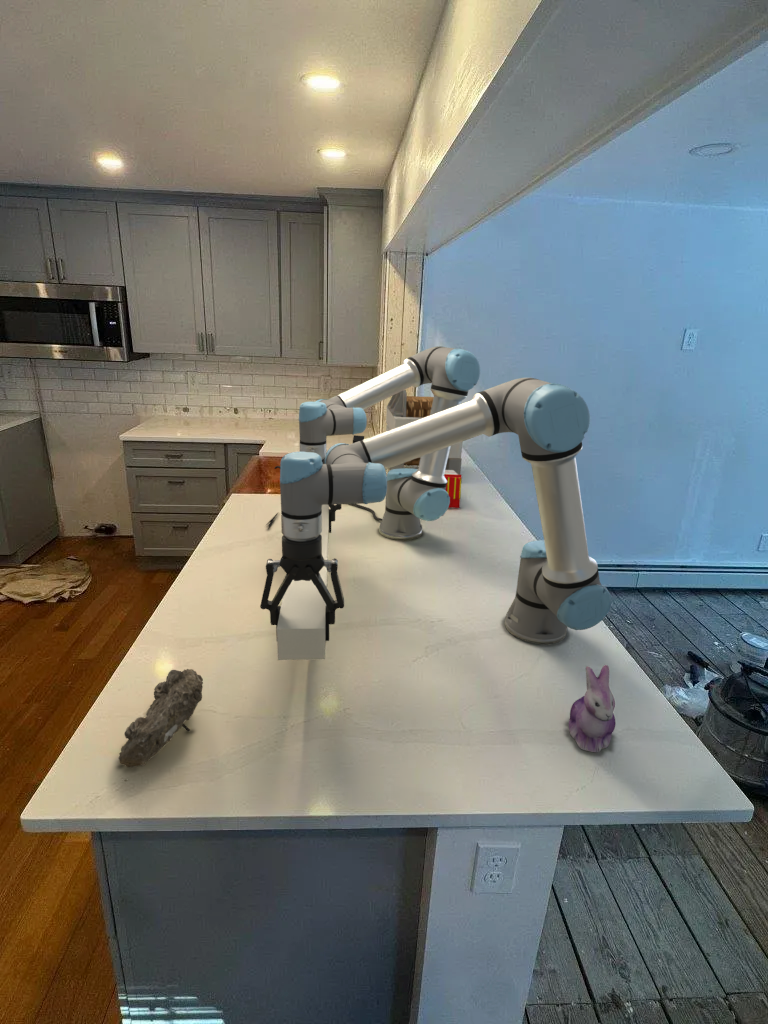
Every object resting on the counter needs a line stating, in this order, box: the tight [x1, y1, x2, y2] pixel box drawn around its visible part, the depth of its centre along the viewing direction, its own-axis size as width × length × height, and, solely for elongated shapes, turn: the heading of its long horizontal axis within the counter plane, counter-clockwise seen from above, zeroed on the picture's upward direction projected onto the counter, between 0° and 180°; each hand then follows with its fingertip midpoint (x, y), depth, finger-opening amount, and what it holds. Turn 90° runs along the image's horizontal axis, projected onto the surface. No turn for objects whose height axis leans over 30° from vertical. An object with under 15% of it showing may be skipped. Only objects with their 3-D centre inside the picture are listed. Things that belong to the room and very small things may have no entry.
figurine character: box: [352, 434, 365, 443], centre depth 310 cm, size 7×8×15 cm
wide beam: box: [276, 505, 330, 661], centre depth 140 cm, size 71×9×7 cm, turn 5°
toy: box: [444, 470, 463, 509], centre depth 239 cm, size 12×13×30 cm
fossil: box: [118, 668, 204, 768], centre depth 103 cm, size 22×10×15 cm
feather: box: [265, 512, 279, 530], centre depth 210 cm, size 2×28×2 cm
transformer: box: [385, 389, 464, 475], centre depth 268 cm, size 34×33×41 cm
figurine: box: [568, 664, 617, 753], centre depth 105 cm, size 9×10×15 cm
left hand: (313, 531), depth 169 cm, fingers closed on wide beam, 9 cm apart
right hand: (303, 637), depth 115 cm, fingers closed on wide beam, 9 cm apart
